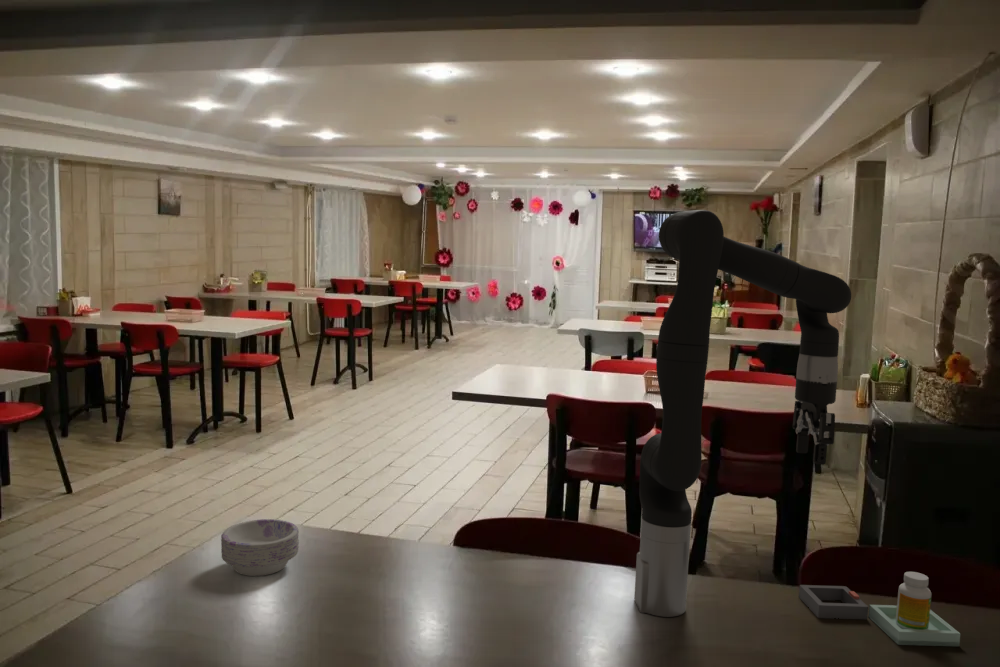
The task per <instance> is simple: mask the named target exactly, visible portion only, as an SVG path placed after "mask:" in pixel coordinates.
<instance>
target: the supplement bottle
mask: <svg viewBox="0 0 1000 667" xmlns="http://www.w3.org/2000/svg"><path fill="white" fill-rule="evenodd" d="M929 579H930V578H929V577H928V575H925V574H924V573H920V572H917V571H906V572H904V574H903V583H901V584H900V585H899V586H898V592H897V600H896V601H897V603H896V606H897V611H896V624H897V625H898V626H899V627H901V628H903V629H911V630H928V626H929V615H930V610H931V604H932V592H931V590H930V588H929Z"/></svg>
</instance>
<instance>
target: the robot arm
mask: <svg viewBox="0 0 1000 667" xmlns="http://www.w3.org/2000/svg"><path fill="white" fill-rule="evenodd" d="M724 233H725V232H724V227H723V224H722V222H721V219H720V218H719V216H718V215H716V214H715V213H714V212H712V211H711V210H706V209H695V210H693V209H692V210H683V211H678V212H675V213H672V214H671V215H669V216H667V217H666V218H665V219H664V220H663V221H662V223H661V225H660V227H659V230H658V242H659V245H660V246H661V249H662V250H663V251H664V253H665V254H667V255H668V256H669V257H670V258H672V259H674V260H678V273H677V274H678V276H677V283H676V288H675V291H674V295H673V298H672V300H671V302H670V304H669V306H668V308H667V310H666V312H665V314H664V316H663V319H662V322H661V325H660V328H659V332H658V338H657V340H658V341H657V347H656V360H655V365H656V376H657V382H658V384H657V385H658V388H659V394H660V399H661V406H662V427H661V431H660V432H659V433H657V434H654V435H653V436H651V437H650V438H648V439H647V441H645V444H644V445H643V447H642V450H641V455H640V462H639V484H638V485H639V492H638V493H639V496H638V497H639V503H640V505H641V524H640V525H641V526H640V537H639V538H640V540H639V541H640V543H639V551H637V553H636V563H635V564H636V565H635V581H634V583H635V584H634V596H633V597H634V601H635V603H636V607H637V609H638V611H639V613H642V614H644V613H645V614H649V615H652V616H656V617H664V618H672V617H678V616H681V615H683V614H685V612H686V605H687V592H688V576H689V575H688V574H689V562H690V560H689V559H690V547H691V545H690V543H691V532H692V531H691V530H692V513H693V512H692V506H691V505H690V502H689V500H688V496H687V492H686V490H687V489H689V488H690V487H692V486H693V485H694V484H695V482H696V481H697V480H698V478H699V475H700V473H701V469H702V460H703V458H702V414H703V406H704V405H703V404H704V396H705V384H706V373H707V368H708V367H707V366H708V359H709V350H710V349H709V348H710V337H711V336H710V334H711V332H710V331H711V325H712V323H711V322H712V314H713V307H714V296H715V294H714V293H715V287H716V281H717V277H718V271H721V272H724V273H727V274H729V275H732V276H734V277H736V278H739V279H741V280H743V281H746V282H748V283H750V284H753V285H755V286H756V287H759V288H761V289H763V290H766V291H768V292H770V293H772V294H775V295H777V296H780V297H783V298H786V299H792V300H795V305H796V312H797V319H798V325H799V329H800V342H799V343H800V344H799V355H798V360H797V363H796V364H797V365H796V366H797V367H796V378H795V380H796V381H795V390H794V398H795V401H794V407H793V408H794V410H793V418H792V429H793V430H795V433H796V435H797V436H796V445H795V448H796V449H795V452H796V453H797V454H808V453H809V446H810V445H809V444H810V442H809V441H810V434H811V435H812V436H813V441H814V442H813V443H814V445H813V455H812V456H813V458H812V462H813V463H814V464H815V465H825V464H826V463H827V449H828V446H829V445H834V443H835V441H834V440H835V427H836V426H835V424H836V414H835V413H834V412H828V406H829V405H832V404H835V403H836V399H837V389H838V388H837V386H838V373H839V362H838V359H839V358H838V356H839V346H840V345H839V344H840V332H839V328H836V326H833V325H832V324H830V322H829V318H828V317H829V316H828V314H838V313H840V312H842V311H844V310H845V309H846V308H847V307H848V306H849V305H850V303H851V300H852V292H851V290H852V289H851V288H850V286H849V285H848V283H847V282H846V281H845V280H844V279H842V278H841V277H839V276H836V275H834V274H831V273H829V272H825V271H822V270H819V269H815V268H811V267H808V266H804V265H802V264H800V263H799V262H797V261H795V260H792V259H790V258H788V257H785V256H783V255H781V254H779V253H776V252H773V251H771V250H768V249H764V248H761V247H757V246H753V245H751V244H750V245H749V244H746V243H743V242H739V241H736V240H734V239H731V238H728V237H726V236H724V235H725V234H724Z"/></svg>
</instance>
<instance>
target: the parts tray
mask: <svg viewBox="0 0 1000 667" xmlns="http://www.w3.org/2000/svg"><path fill="white" fill-rule="evenodd" d="M896 611H897V604H895V605H892V604H890V605H889V604H869V605H868V616H867V618H869V619H870V620H871V621H872V622H873V623H875V625H876V626H878V627H879V628H880V629H881V630H882V631H883V632H884V633H885V635H887V636H888V637H890V639H891V640H892V641H894V643H895V644H896V645H899V646H932V647H960V643H961V633H960V632H959V631H958V630H957V629H956V628H954V627H953V626H952V625H950V624H949V623H948V622H947V621H946V620H944V619H943V618H941V616H939V615H938V614H936V613H935V612H934V611H933V610H932V609H930V615H929V626H928V630H911V629H903V628H901V627H899V626H898V625H897V624H896Z"/></svg>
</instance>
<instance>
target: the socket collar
mask: <svg viewBox="0 0 1000 667" xmlns="http://www.w3.org/2000/svg"><path fill="white" fill-rule="evenodd" d="M798 589H799V590H798V599H800V600H801V601H802V602H803V603H804V604H805V605H806V607H809V610H810V611H811V612H812V613H813V614H814V616H815V617H816V618H817V619H834V618H836V619H838V618H839V619H840V620H841V619H842V620H868V616H869V605H867V603H865V602H864V601H863V600H862V599H860V595H859V594H858V593H856V592H855V591H854V590H851V589H850V588H849V587H847V586H846V585H845V586H844V585H816V584H815V585H814V584H813V585H812V584H799V588H798ZM835 600H841V601H840V602H823V601H835ZM841 602H842V603H841ZM836 619H835V620H836ZM839 619H838V620H839Z"/></svg>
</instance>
